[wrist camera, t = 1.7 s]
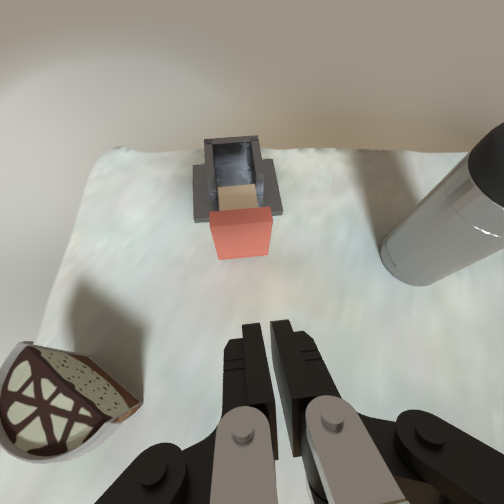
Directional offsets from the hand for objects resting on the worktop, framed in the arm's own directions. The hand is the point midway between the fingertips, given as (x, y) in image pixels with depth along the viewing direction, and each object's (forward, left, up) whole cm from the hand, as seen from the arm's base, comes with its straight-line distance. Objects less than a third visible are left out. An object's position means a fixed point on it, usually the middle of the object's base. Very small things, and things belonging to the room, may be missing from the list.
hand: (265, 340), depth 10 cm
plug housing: (0, -27, -24) cm, 36 cm away
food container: (+19, +2, -24) cm, 31 cm away
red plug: (0, -18, -22) cm, 29 cm away
